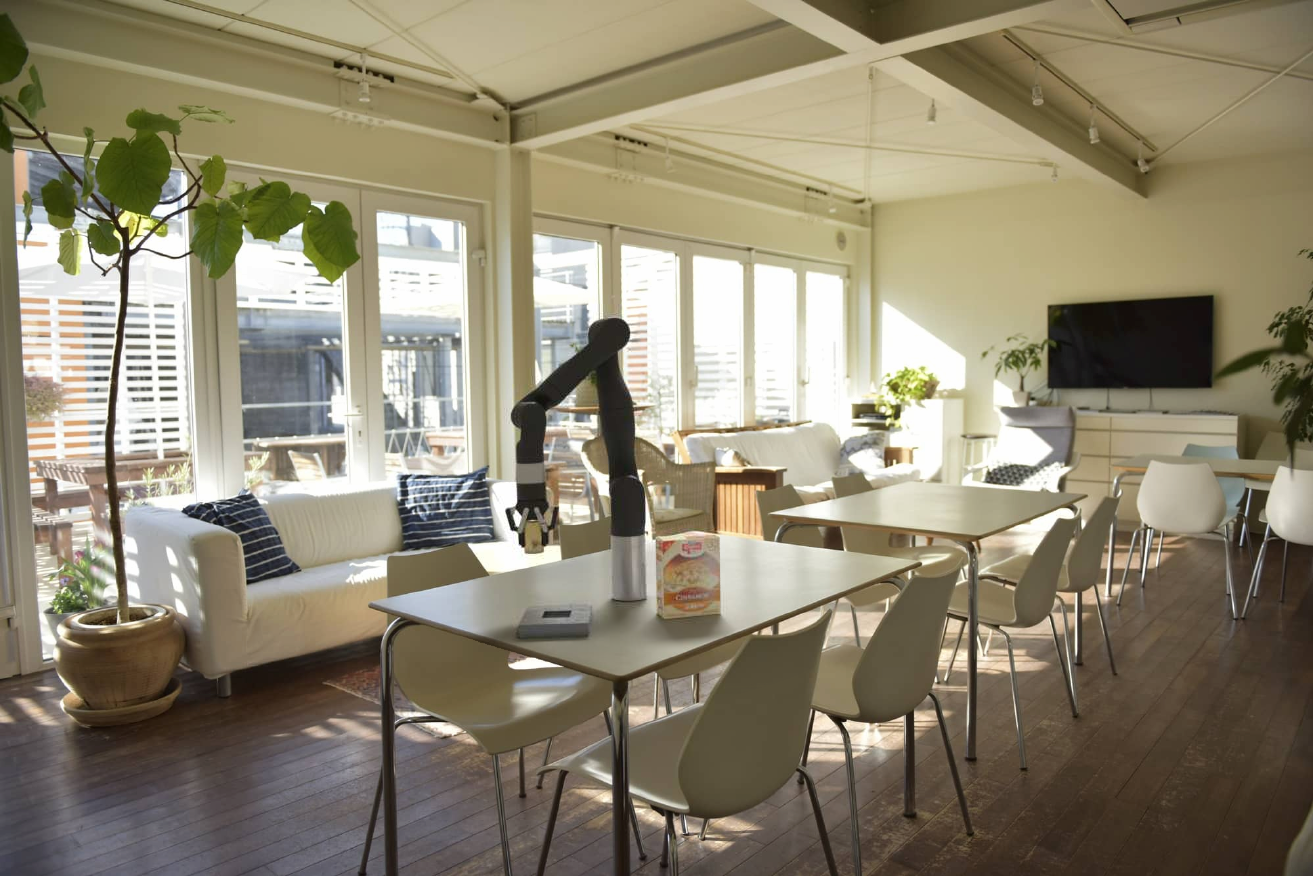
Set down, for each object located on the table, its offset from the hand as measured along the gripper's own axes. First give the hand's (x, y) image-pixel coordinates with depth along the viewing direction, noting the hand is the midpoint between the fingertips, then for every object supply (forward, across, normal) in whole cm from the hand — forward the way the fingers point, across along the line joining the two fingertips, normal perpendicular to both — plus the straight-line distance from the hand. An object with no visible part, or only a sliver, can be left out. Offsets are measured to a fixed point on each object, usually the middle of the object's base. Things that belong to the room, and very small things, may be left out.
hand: (533, 546), depth 235 cm
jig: (+17, -7, +16) cm, 24 cm away
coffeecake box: (+17, -39, +7) cm, 43 cm away
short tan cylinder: (+1, 0, 0) cm, 1 cm away
